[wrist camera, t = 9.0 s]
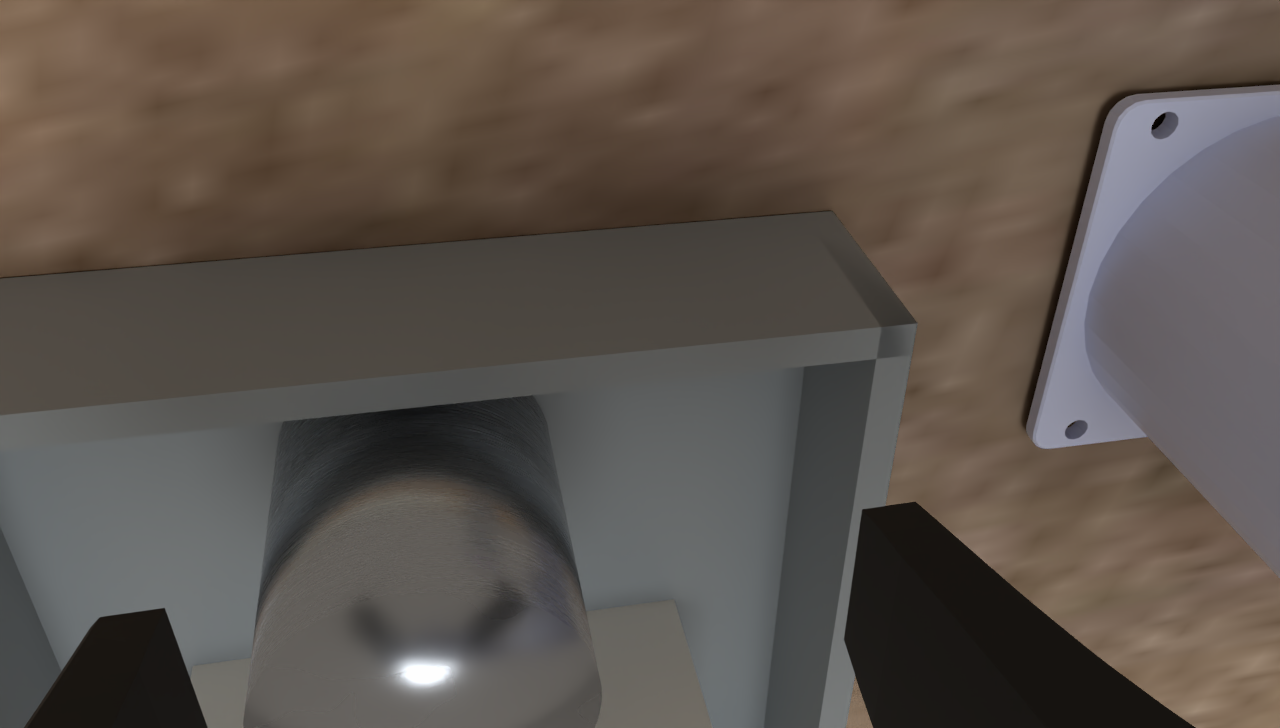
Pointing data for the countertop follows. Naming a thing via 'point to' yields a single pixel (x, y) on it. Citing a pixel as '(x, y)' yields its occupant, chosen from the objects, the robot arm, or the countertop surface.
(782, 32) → the countertop surface
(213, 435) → the tote
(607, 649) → the block
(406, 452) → the metal can
